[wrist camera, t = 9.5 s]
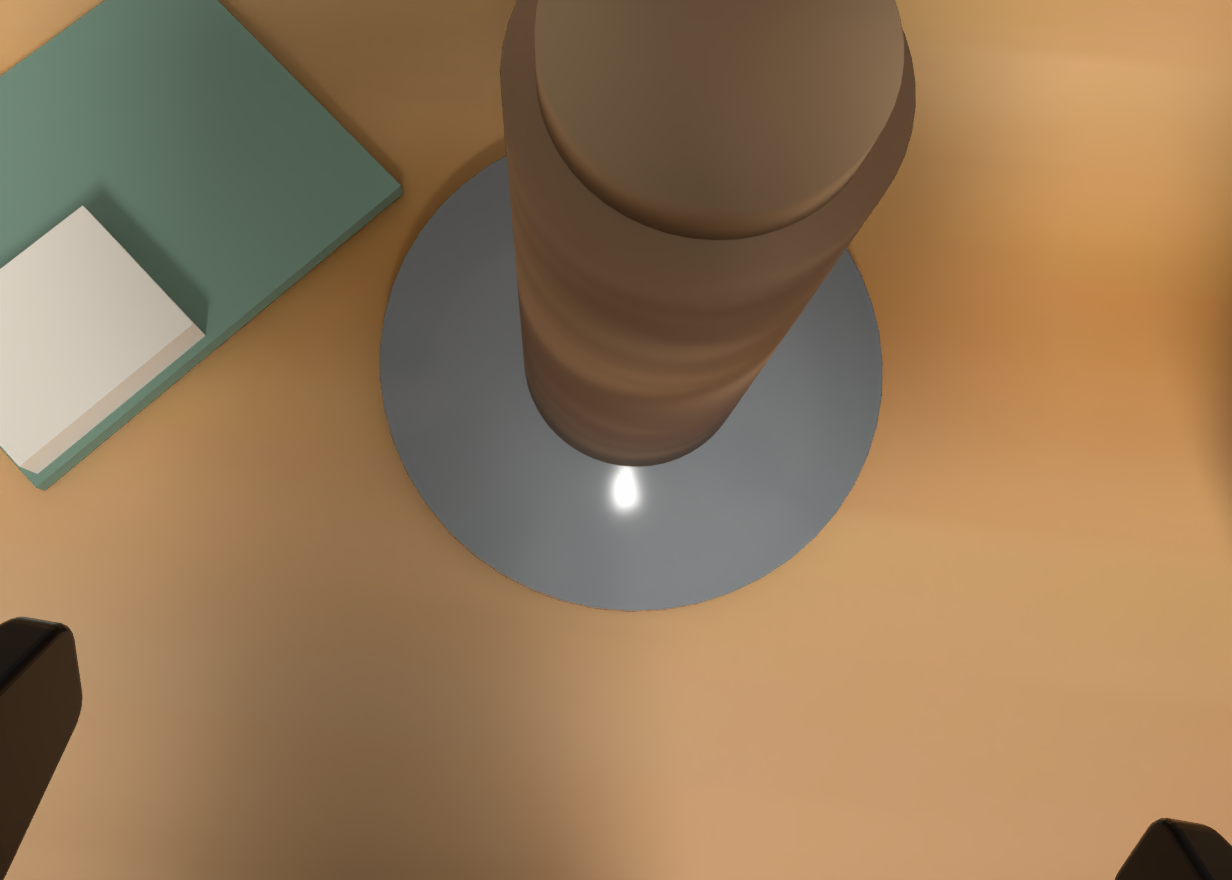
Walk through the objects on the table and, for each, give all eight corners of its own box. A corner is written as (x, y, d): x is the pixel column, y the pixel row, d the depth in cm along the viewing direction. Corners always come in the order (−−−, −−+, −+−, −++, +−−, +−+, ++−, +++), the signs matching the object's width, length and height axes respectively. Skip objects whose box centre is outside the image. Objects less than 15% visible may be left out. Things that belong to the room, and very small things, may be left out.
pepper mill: (574, 500, 22) (602, 312, 11) (490, 300, 23) (430, -79, 11) (778, 417, 23) (1016, 153, 11) (690, 225, 24) (825, -206, 12)
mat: (44, 490, 22) (16, 480, 21) (-188, 229, 23) (-227, 205, 22) (403, 193, 24) (396, 168, 23) (176, -37, 25) (158, -72, 24)
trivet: (629, 723, 22) (631, 723, 21) (279, 352, 23) (272, 344, 23) (972, 373, 24) (982, 365, 24) (635, 52, 25) (637, 37, 25)
